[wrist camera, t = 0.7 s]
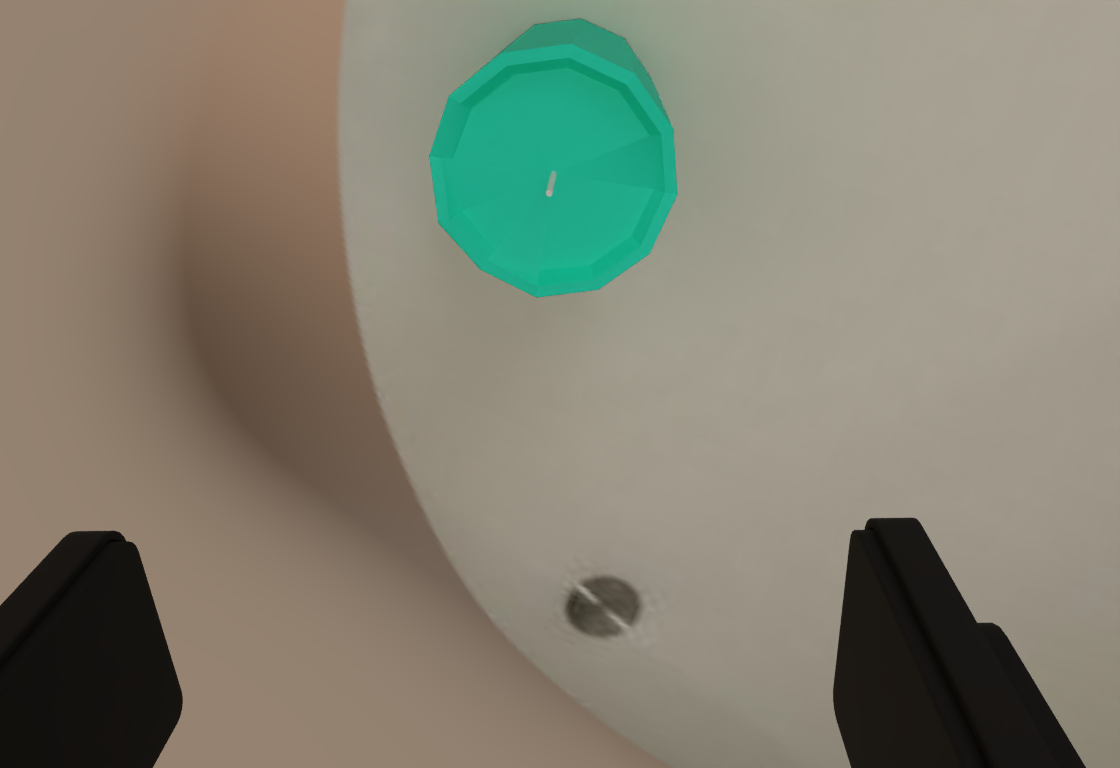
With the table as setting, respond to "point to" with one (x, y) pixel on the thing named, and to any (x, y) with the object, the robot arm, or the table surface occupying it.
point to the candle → (556, 161)
